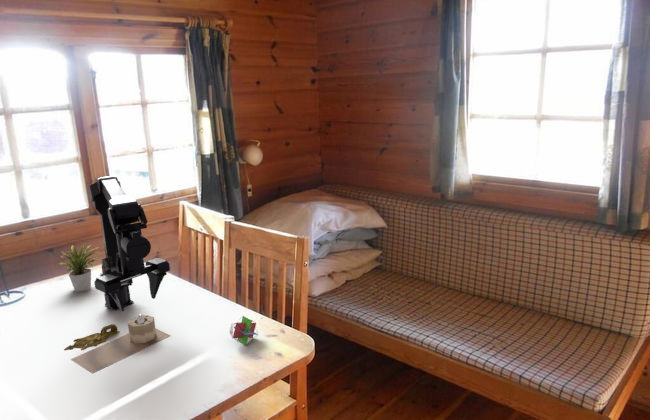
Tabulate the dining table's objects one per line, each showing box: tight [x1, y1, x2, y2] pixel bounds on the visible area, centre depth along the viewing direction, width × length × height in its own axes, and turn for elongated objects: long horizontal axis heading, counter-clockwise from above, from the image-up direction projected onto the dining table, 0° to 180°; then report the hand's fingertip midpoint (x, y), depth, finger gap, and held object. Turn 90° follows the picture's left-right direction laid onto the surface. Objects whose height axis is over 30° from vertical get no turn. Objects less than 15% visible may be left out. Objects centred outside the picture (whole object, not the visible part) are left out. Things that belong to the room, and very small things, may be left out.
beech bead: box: [127, 314, 157, 344], centre depth 134 cm, size 6×6×5 cm
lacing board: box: [70, 327, 172, 374], centre depth 130 cm, size 22×11×1 cm, turn 142°
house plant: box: [58, 242, 101, 293], centre depth 169 cm, size 14×14×16 cm
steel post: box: [136, 313, 145, 324], centre depth 134 cm, size 2×2×7 cm
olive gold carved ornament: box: [63, 323, 121, 351], centre depth 134 cm, size 9×5×15 cm
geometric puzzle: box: [229, 315, 259, 347], centre depth 132 cm, size 7×7×8 cm
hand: (138, 304), depth 132 cm, fingers open, 9 cm apart
